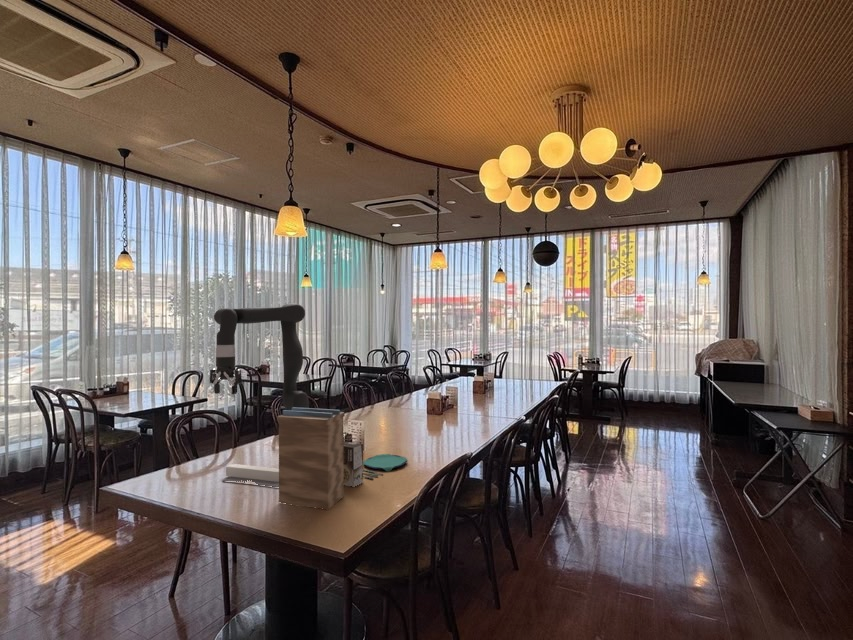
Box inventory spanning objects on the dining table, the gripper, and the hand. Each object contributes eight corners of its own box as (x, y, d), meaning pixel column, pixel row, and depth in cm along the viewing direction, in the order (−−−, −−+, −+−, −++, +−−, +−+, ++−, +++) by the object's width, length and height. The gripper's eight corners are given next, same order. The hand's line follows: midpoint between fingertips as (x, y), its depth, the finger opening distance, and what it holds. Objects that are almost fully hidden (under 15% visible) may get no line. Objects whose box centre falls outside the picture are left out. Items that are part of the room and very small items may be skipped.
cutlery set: (414, 462, 212) (414, 457, 212) (375, 482, 186) (375, 477, 186) (381, 456, 222) (381, 451, 222) (339, 474, 197) (339, 469, 197)
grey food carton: (363, 482, 184) (363, 443, 184) (353, 487, 179) (353, 447, 179) (346, 479, 189) (346, 440, 189) (336, 483, 183) (336, 444, 183)
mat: (245, 471, 199) (245, 469, 199) (304, 477, 191) (304, 475, 191) (222, 481, 186) (222, 480, 186) (285, 489, 177) (285, 487, 177)
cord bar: (232, 472, 195) (232, 463, 195) (284, 478, 188) (284, 469, 188) (226, 475, 191) (226, 466, 191) (278, 481, 184) (278, 472, 184)
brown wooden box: (298, 490, 176) (298, 405, 176) (344, 496, 170) (344, 408, 170) (277, 504, 162) (277, 412, 162) (326, 511, 157) (326, 415, 157)
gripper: (245, 355, 191) (245, 393, 191) (218, 354, 195) (218, 391, 195) (233, 356, 184) (233, 396, 184) (205, 355, 188) (205, 394, 188)
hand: (225, 393), depth 189 cm, fingers open, 8 cm apart
